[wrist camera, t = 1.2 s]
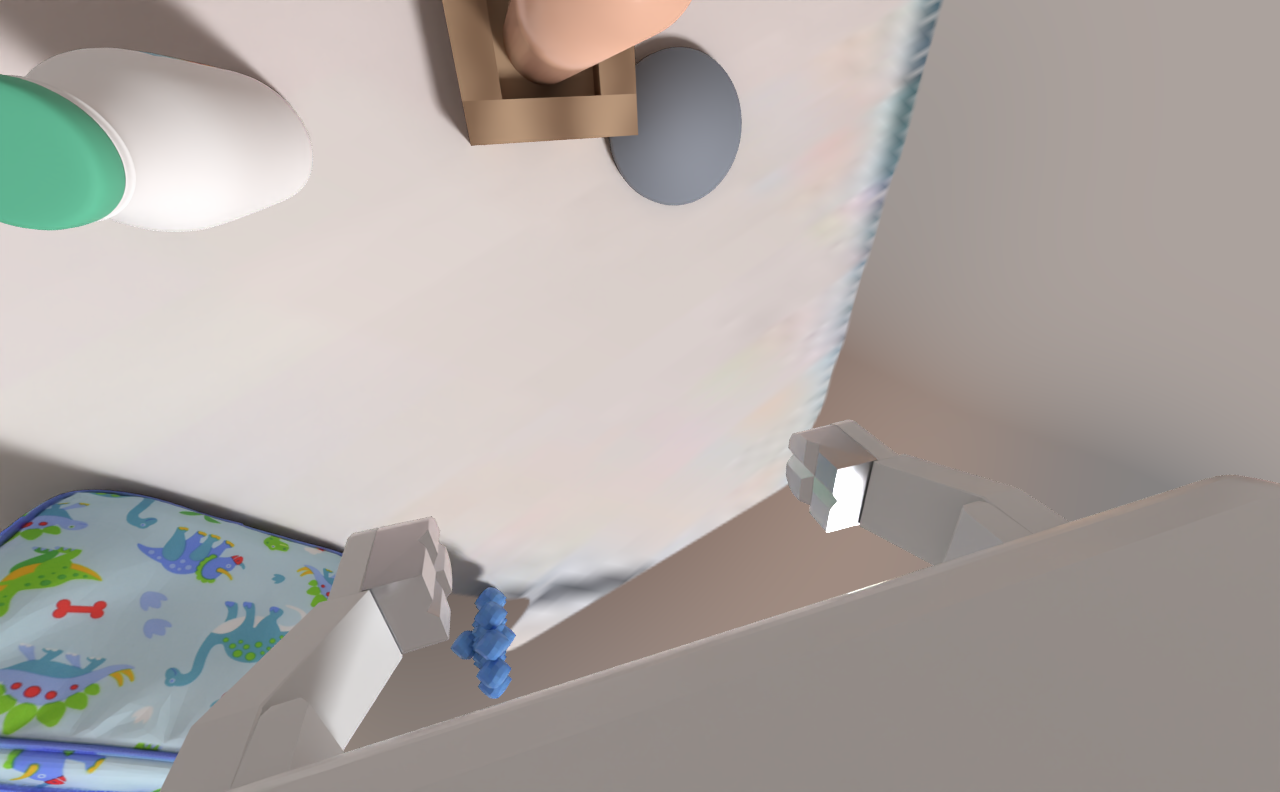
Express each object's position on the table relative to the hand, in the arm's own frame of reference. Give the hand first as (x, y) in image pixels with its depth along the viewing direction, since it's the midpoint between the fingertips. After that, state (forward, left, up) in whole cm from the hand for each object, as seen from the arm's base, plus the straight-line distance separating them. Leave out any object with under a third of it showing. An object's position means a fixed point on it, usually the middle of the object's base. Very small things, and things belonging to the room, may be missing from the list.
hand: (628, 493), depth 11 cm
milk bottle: (-14, -11, -34) cm, 38 cm away
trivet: (+1, +15, -34) cm, 37 cm away
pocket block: (-9, +9, -34) cm, 36 cm away
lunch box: (+9, -40, -34) cm, 53 cm away
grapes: (+31, -29, -34) cm, 54 cm away
